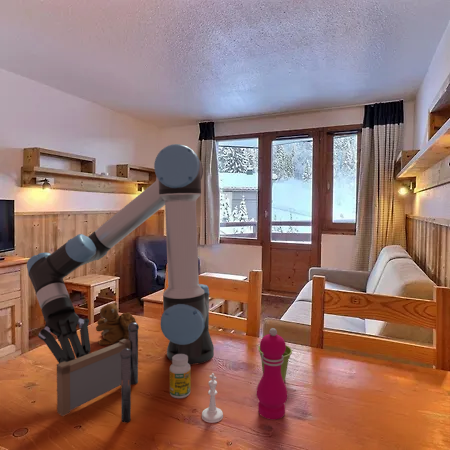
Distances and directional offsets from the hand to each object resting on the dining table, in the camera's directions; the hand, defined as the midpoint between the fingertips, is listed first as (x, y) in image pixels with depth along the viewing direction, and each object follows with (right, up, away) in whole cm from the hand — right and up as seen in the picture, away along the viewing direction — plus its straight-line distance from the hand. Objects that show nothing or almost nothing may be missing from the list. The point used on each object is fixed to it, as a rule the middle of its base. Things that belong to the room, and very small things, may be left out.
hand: (85, 385), depth 83 cm
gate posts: (+10, -4, +1) cm, 11 cm away
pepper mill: (+45, -5, -3) cm, 45 cm away
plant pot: (+48, -4, +12) cm, 50 cm away
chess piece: (+31, -5, -5) cm, 32 cm away
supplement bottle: (+22, -4, +4) cm, 23 cm away
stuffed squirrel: (-5, -2, +39) cm, 40 cm away
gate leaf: (+3, -3, 0) cm, 4 cm away
